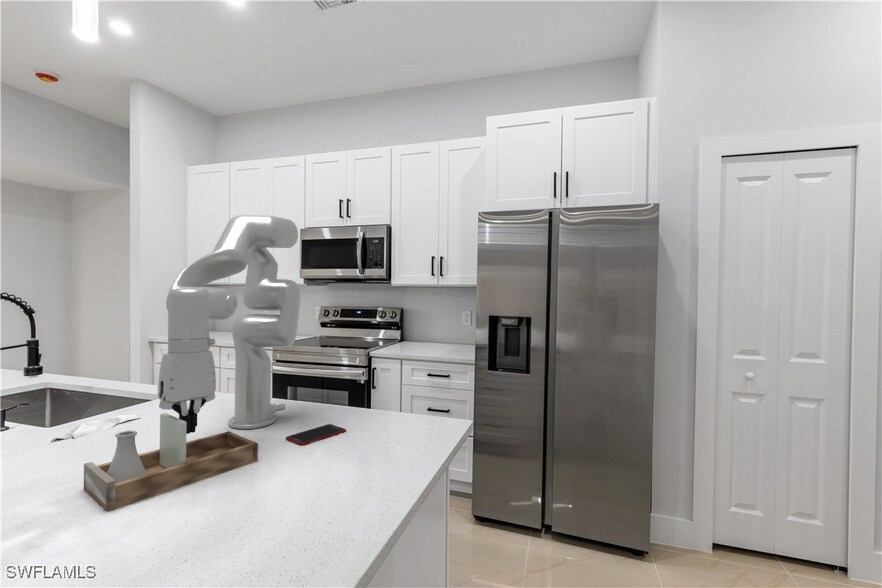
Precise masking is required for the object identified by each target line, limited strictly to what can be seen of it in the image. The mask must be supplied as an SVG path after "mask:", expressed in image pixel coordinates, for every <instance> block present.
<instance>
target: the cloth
mask: <svg viewBox="0 0 882 588" xmlns="http://www.w3.org/2000/svg"><path fill="white" fill-rule="evenodd" d="M143 415H145V413H133V414H127V415H126V414H125V415H120V414H119V415H115V416H112V417H111V416H110V417H108V418H107V417H106V418H103V419H99V420H98V419H97V420H93V421H91V420H90V421H86V422H85V421H84V422H83V423H80V424H78V425H76V426H75V427H73V428H72V429H73V430H72V429H69V430H67V431H66V432H64V433H63V434H62V435H61V436H57V437H53V438H52V439H51V440H49V445H50V444H52V443H53V442H55V441H56V440H58V439H61V440H66V439H67V440H68V439H71V438H73V439H74V440H76V439H79V438H83V437H87V436H91V435H94V434H93V433H95V434H97V432H98V433H101V432H105V431H107V430H110V429H113V428H114V427H115V426H116V425H119V424H121V423H127V422H131V421H134V420H138V419H141V417H140V416H143ZM130 420H131V421H130ZM126 421H127V422H126ZM90 424H92V425H90ZM104 430H105V431H104ZM74 431H75V432H74ZM100 431H101V432H100ZM73 432H74V433H73ZM90 434H91V435H90ZM86 435H87V436H86Z"/></svg>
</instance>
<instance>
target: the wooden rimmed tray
mask: <svg viewBox="0 0 882 588" xmlns="http://www.w3.org/2000/svg"><path fill="white" fill-rule="evenodd" d="M138 455H139V457H140V460H141V462H142V464H143V466H144V468H145V471H146V473H147V474H146V475H143V476H139V477H136V478H133V479H129V480H126V481H122V482H119V483H116V480H114V479H113V478H112V477H110V476H109V475H108V474H107V471H108V469H109V467H110V465H111V462H112V461H108V462H105V463H101V464H98V465H97V464H95V463H94V462H93V461H89V462H86V463H83V490H84V491H85V493H86V494H88V496H90V497H91V498H92V499H93V500H94V501H95V502H96V504H98V505H99V506H100V507H101V508H102V509H103V510H104V511H106V512H110V511H113V510H116V509H119V508H121V507H124V506H128V505H130V504H133V503H136V502H139V501H143V500H145V499H148V498H151V497H154V496H158V495H160V494H163V493H166V492H170V491H172V490H175V489H178V488H181V487H184V486H187V485H190V484H192V483H197V482H199V481H202V480H205V479H208V478H211V477H214V476H217V475H221V474H223V473H225V472H228V471H231V470H234V469H238V468H241V467H243V466H246V465H249V464H253V463H256V462H258V461H259V443H258V442H256V441H253V440H251V439H249V438H246V437H243V436H241V435H239V434H237V433H234V432H232V431H225V432H221V433H217V434H213V435H209V436H205V437H202V438H197V439H194V440H190V441H186V463H183V464H180V465H176V466H173V467H170V468H165V467H163V466H162V465H160V448H159V449H156V450H152V451H148V452H147V451H146V452H143V453H138Z"/></svg>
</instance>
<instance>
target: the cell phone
mask: <svg viewBox="0 0 882 588" xmlns="http://www.w3.org/2000/svg"><path fill="white" fill-rule="evenodd" d="M344 432H345V433H347V428H343V427H341V426H338V425H334V424H332V423H327V424H324V425H321V426H318V427H315V428H311V429H307V430H304V431H300V432H298V433H294V434H290V435H287V436H286V437H285V441H287V442H289V443H291V444H294V445H297V446H299V447H304V446H308V445H311V444H313V442H314V443H316V441H317V442H320V440H321V441H323V440H326V439H329V438H333V437H336V436H338V434H339V435H341V434H340V433H342V434H344ZM335 435H336V436H335ZM332 436H333V437H332ZM310 443H311V444H310Z"/></svg>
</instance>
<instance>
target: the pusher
mask: <svg viewBox="0 0 882 588" xmlns="http://www.w3.org/2000/svg"><path fill="white" fill-rule="evenodd" d="M159 417H160V418H159V449H160V465H162V466H163V467H165V468H170V467H173V466H176V465H180V464H183V463H186V442H187V434H186V425H187V422H185V421H183V420H181V419H179V417H176V416H174V415H172V414H169V413H167V412H164V413H163V412H162V413H160V415H159Z"/></svg>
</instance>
